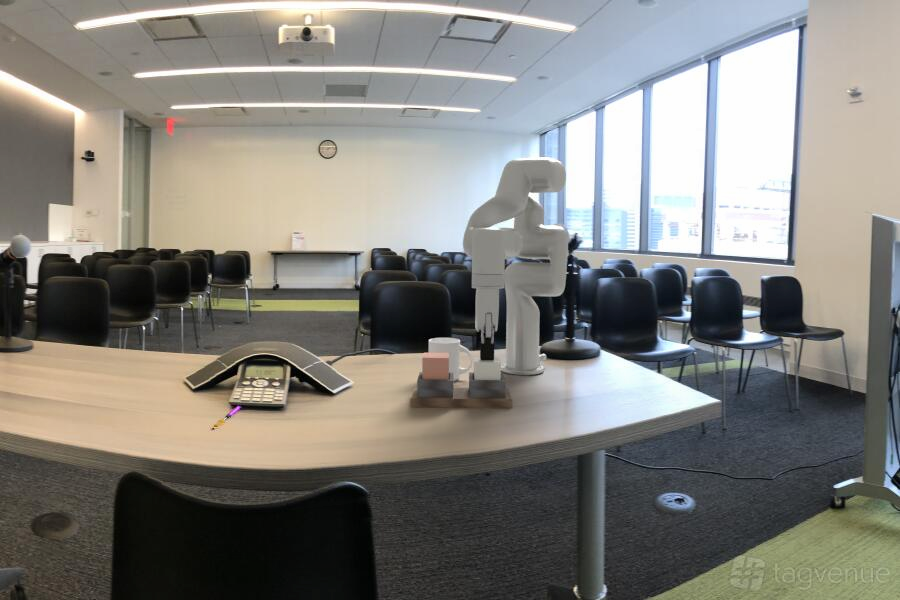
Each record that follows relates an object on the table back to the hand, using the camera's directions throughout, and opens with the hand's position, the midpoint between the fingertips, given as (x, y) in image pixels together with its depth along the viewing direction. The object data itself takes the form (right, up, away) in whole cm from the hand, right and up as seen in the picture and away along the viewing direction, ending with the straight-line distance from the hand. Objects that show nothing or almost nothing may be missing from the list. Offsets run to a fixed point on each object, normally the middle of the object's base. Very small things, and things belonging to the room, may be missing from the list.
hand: (487, 359), depth 133 cm
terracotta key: (-12, -5, +1) cm, 13 cm away
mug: (-9, -8, +23) cm, 26 cm away
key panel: (-6, -10, +1) cm, 12 cm away
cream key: (0, -6, +1) cm, 6 cm away
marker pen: (-55, -12, -12) cm, 58 cm away
